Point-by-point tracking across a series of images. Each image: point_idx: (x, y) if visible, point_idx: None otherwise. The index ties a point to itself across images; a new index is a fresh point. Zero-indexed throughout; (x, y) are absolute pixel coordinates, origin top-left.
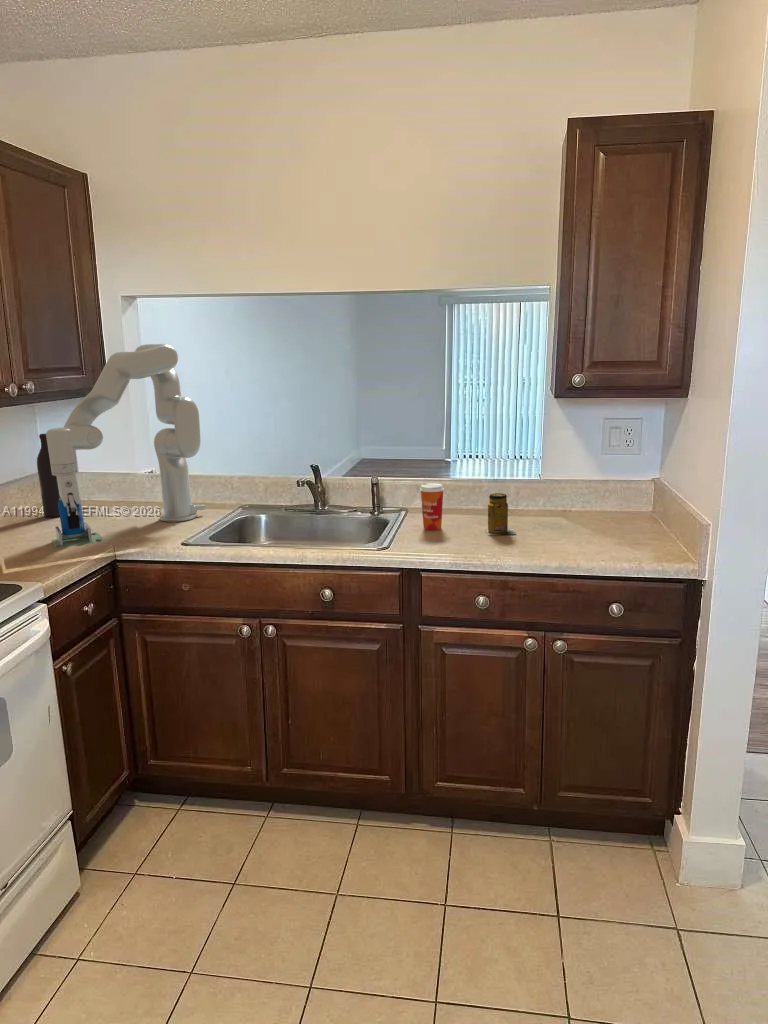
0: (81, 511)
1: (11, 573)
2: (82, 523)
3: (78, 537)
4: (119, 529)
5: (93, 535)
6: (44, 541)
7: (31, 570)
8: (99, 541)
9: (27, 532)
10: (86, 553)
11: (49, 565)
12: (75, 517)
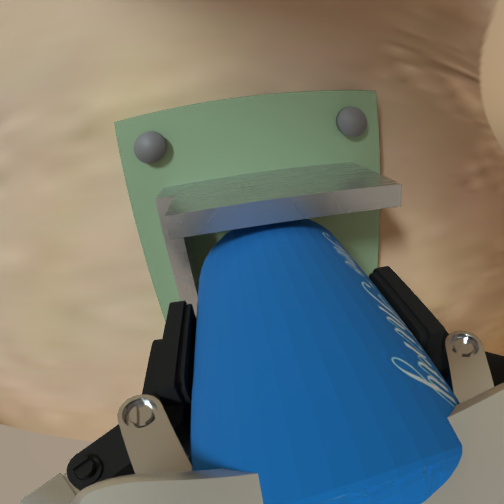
0: (386, 323)
1: None
2: (342, 254)
3: (195, 243)
4: (36, 23)
5: (184, 149)
6: (145, 374)
7: (492, 343)
8: (374, 121)
9: (14, 400)
10: (468, 200)
11: (493, 310)
12: (446, 337)
